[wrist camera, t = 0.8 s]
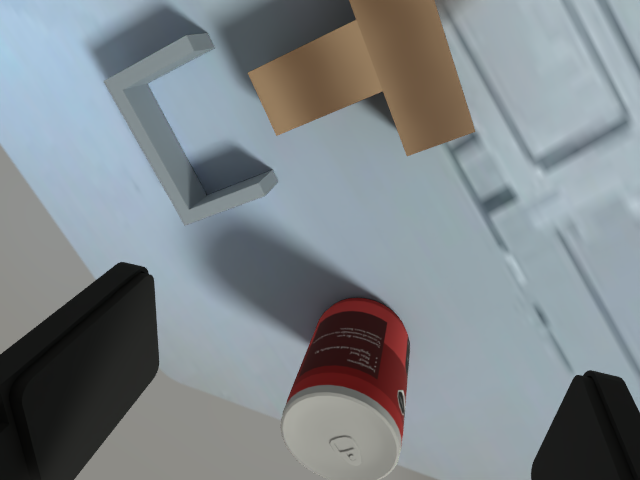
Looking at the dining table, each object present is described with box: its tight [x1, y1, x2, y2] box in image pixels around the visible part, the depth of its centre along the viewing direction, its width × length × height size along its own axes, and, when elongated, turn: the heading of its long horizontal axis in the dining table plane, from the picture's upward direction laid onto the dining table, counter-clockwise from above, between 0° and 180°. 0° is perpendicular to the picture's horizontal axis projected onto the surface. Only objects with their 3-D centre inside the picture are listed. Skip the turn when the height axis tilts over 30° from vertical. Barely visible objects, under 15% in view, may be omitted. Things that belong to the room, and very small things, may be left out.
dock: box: [104, 33, 278, 225], centre depth 33 cm, size 7×11×3 cm, turn 25°
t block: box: [248, 0, 475, 156], centre depth 28 cm, size 11×12×4 cm
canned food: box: [281, 298, 410, 480], centre depth 34 cm, size 8×8×11 cm
